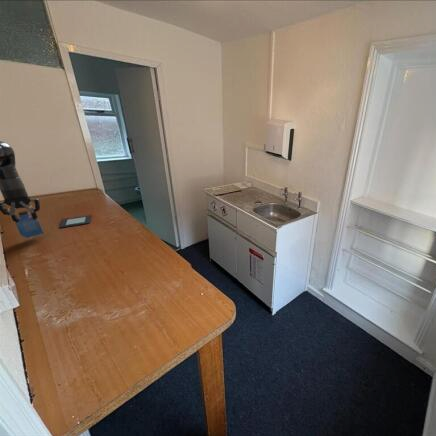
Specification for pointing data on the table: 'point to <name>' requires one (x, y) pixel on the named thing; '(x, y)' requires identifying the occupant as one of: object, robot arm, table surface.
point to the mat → (75, 221)
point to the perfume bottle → (28, 225)
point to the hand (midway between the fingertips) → (26, 220)
